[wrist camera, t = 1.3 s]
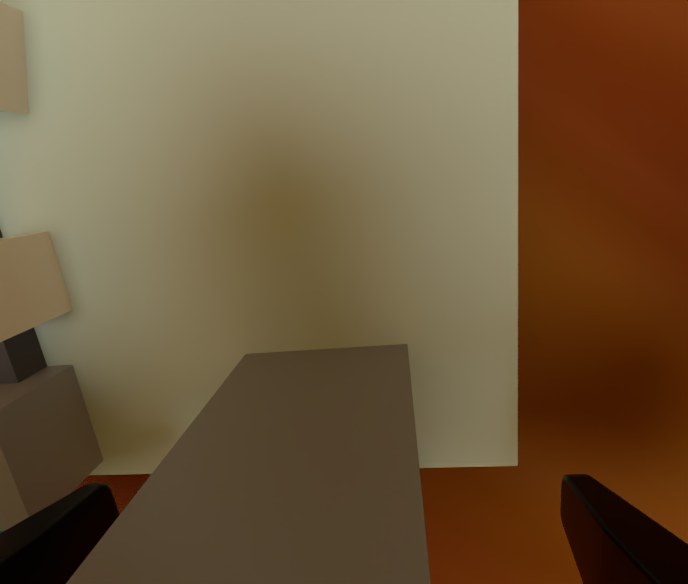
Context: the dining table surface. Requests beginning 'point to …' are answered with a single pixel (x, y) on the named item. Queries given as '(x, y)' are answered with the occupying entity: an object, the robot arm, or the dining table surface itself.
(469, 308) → the board
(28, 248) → the clamp and clips
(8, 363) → the cable
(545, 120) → the dining table surface
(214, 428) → the block
